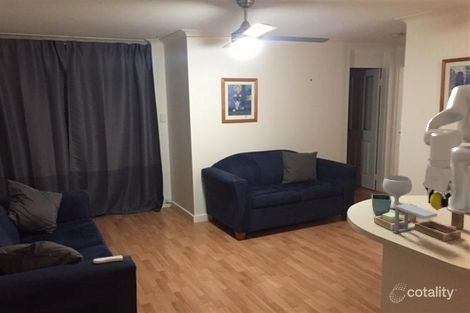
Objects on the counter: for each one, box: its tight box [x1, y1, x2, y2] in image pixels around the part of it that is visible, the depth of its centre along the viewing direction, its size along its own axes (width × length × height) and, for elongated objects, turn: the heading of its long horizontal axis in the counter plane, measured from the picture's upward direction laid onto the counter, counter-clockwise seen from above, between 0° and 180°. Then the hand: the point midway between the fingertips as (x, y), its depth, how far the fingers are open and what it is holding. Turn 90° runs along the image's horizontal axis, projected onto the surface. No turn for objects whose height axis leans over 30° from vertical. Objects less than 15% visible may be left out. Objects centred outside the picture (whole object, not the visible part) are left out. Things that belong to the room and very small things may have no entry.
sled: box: [373, 203, 418, 231], centre depth 173 cm, size 18×11×7 cm, turn 112°
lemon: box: [429, 191, 443, 211], centre depth 158 cm, size 6×6×8 cm
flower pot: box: [371, 193, 392, 217], centre depth 185 cm, size 9×9×9 cm
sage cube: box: [382, 211, 395, 224], centre depth 172 cm, size 5×5×5 cm
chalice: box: [382, 174, 413, 210], centre depth 195 cm, size 14×14×15 cm
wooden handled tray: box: [413, 211, 465, 242], centre depth 161 cm, size 18×15×7 cm
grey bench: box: [392, 203, 438, 235], centre depth 159 cm, size 22×15×12 cm
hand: (438, 204), depth 159 cm, fingers closed on lemon, 5 cm apart
